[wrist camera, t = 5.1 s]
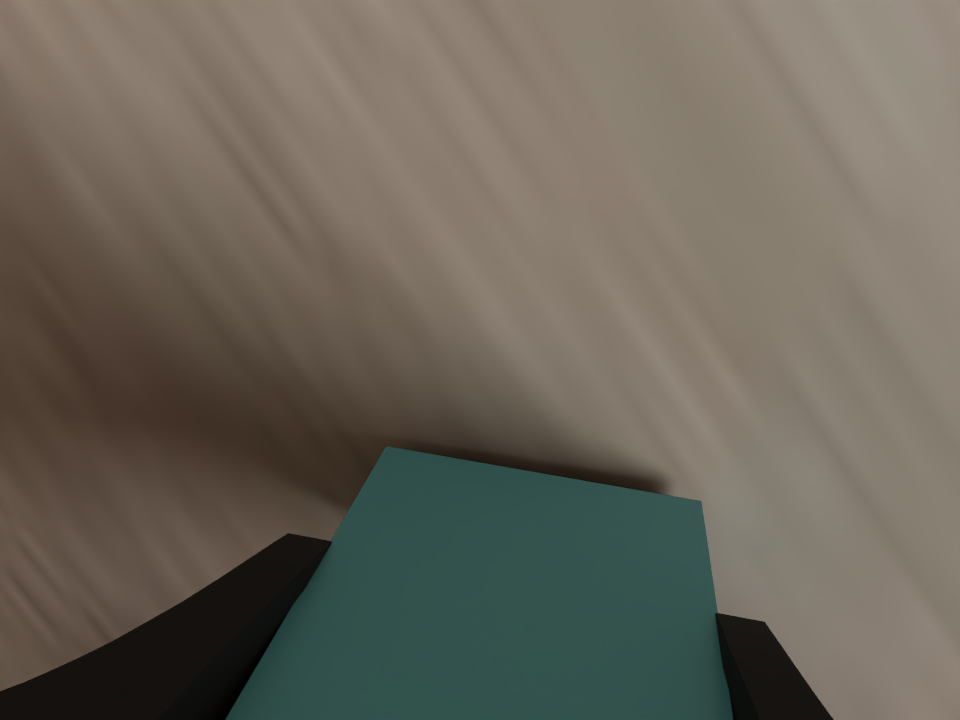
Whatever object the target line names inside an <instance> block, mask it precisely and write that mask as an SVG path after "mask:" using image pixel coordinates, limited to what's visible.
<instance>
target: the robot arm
mask: <svg viewBox="0 0 960 720" xmlns="http://www.w3.org/2000/svg"><path fill="white" fill-rule="evenodd" d="M331 544H332V541H327V540H321V539H316V538H311V537H305V536H300V535H294V534H289V533H288V534H287V535H285V536H283V537H282V538H280V539H278V540H277V541H275V542H274V543H272V544H271V545H269V546H268V547H266V548H265V549H263V550H262V551H260V552H259V553H257V554H256V555H254V556H252V557H251V558H249V559H248V560H246V561H245V562H243V563H242V564H240V565H239V566H237V567H236V568H234V569H233V570H231V571H230V572H228V573H227V574H225V575H224V576H222V577H221V578H219V579H218V580H216V581H214V582H213V583H211V584H210V585H208V586H207V587H205V588H203V589H202V590H200V591H199V592H197V593H195V594H194V595H192V596H191V597H189V598H188V599H186V600H184V601H183V602H181V603H180V604H178V605H176V606H174V607H172V608H171V609H169V610H167V611H165V612H164V613H162V614H160V615H158V616H157V617H155V618H153V619H151V620H150V621H148V622H146V623H144V624H142V625H141V626H139V627H137V628H135V629H134V630H132V631H130V632H128V633H127V634H125V635H123V636H121V637H119V638H118V639H116V640H114V641H112V642H110V643H108V644H106V645H104V646H102V647H100V648H98V649H96V650H94V651H92V652H90V653H88V654H86V655H84V656H82V657H80V658H78V659H76V660H73V661H71V662H69V663H67V664H65V665H62V666H60V667H58V668H56V669H54V670H51V671H49V672H47V673H45V674H42V675H40V676H38V677H36V678H33V679H31V680H28V681H26V682H24V683H21V684H18V685H16V686H13V687H11V688H8V689H5V690H3V691H0V720H225V719H226V718H227V716H228V714H229V713H230V711H231V709H232V708H233V706H234V704H235V703H236V701H237V699H238V697H239V696H240V694H241V692H242V691H243V689H244V687H245V686H246V684H247V682H248V680H249V679H250V677H251V675H252V674H253V672H254V670H255V669H256V667H257V665H258V663H259V662H260V660H261V658H262V657H263V655H264V653H265V652H266V650H267V648H268V646H269V645H270V643H271V641H272V640H273V638H274V636H275V635H276V633H277V631H278V629H279V628H280V626H281V624H282V623H283V621H284V619H285V618H286V616H287V614H288V612H289V611H290V609H291V607H292V606H293V604H294V603H295V601H296V600H297V599H298V597H299V596H300V595H301V593H302V592H303V591H304V589H305V588H306V587H307V585H308V583H309V582H310V580H311V578H312V576H313V575H314V573H315V571H316V570H317V568H318V566H319V564H320V563H321V561H322V559H323V558H324V556H325V554H326V552H327V551H328V549H329V547H330V546H331ZM715 617H716V624H717V631H718V638H719V645H720V652H721V659H722V666H723V670H724V674H725V678H726V681H727V685H728V689H729V694H730V700H731V707H732V714H733V720H833V718H832V717H831V716H830V714H829V713H828V711H827V710H826V709H825V707H824V706H823V705H822V703H821V702H820V700H819V699H818V698H817V696H816V695H815V693H814V692H813V691H812V689H811V688H810V686H809V685H808V684H807V682H806V681H805V679H804V678H803V676H802V675H801V674H800V672H799V671H798V669H797V668H796V666H795V665H794V663H793V662H792V661H791V659H790V658H789V656H788V655H787V653H786V652H785V650H784V649H783V648H782V646H781V645H780V643H779V642H778V640H777V639H776V638H775V636H774V635H773V633H772V632H771V630H770V629H769V628H768V626H767V625H766V623H765V622H762V621H757V620H752V619H746V618H741V617H736V616H730V615H725V614H719V613H716V614H715Z"/></svg>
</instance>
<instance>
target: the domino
mask: <svg viewBox="0 0 960 720" xmlns="http://www.w3.org/2000/svg"><path fill="white" fill-rule="evenodd" d="M331 541H332V544H331V546H330V547H329V549H328V551H327V552H326V554H325V556H324V558H323V559H322V561H321V563H320V564H319V566H318V568H317V570H316V571H315V573H314V575H313V576H312V578H311V580H310V582H309V583H308V585H307V587H306V588H305V589H304V591H303V592H302V593H301V595H300V596H299V597H298V599H297V600H296V601H295V603H294V604H293V606H292V607H291V609H290V611H289V612H288V614H287V616H286V618H285V619H284V621H283V623H282V624H281V626H280V628H279V629H278V631H277V633H276V635H275V636H274V638H273V640H272V641H271V643H270V645H269V646H268V648H267V650H266V652H265V653H264V655H263V657H262V658H261V660H260V662H259V663H258V665H257V667H256V669H255V670H254V672H253V674H252V675H251V677H250V679H249V680H248V682H247V684H246V686H245V687H244V689H243V691H242V692H241V694H240V696H239V697H238V699H237V701H236V703H235V704H234V706H233V708H232V709H231V711H230V713H229V714H228V716H227V718H226V719H225V720H733V714H732V707H731V700H730V694H729V689H728V685H727V681H726V678H725V674H724V670H723V666H722V659H721V652H720V645H719V638H718V631H717V624H716V617H715V614H716V613H718V612H717V605H716V598H715V591H714V585H713V578H712V571H711V564H710V557H709V551H708V544H707V537H706V530H705V523H704V516H703V510H702V503H701V501H697V500H692V499H686V498H680V497H674V496H669V495H663V494H657V493H652V492H646V491H640V490H634V489H629V488H623V487H617V486H611V485H606V484H600V483H594V482H589V481H583V480H577V479H571V478H566V477H560V476H554V475H548V474H543V473H537V472H531V471H526V470H520V469H514V468H508V467H503V466H497V465H491V464H485V463H480V462H474V461H468V460H463V459H457V458H451V457H445V456H440V455H434V454H428V453H422V452H417V451H411V450H405V449H400V448H394V447H388V446H386V448H385V449H384V451H383V453H382V454H381V456H380V458H379V460H378V461H377V463H376V465H375V466H374V468H373V470H372V471H371V473H370V475H369V477H368V478H367V480H366V482H365V483H364V485H363V487H362V488H361V490H360V492H359V494H358V495H357V497H356V499H355V500H354V502H353V504H352V505H351V507H350V509H349V511H348V512H347V514H346V516H345V517H344V519H343V521H342V522H341V524H340V526H339V527H338V529H337V531H336V533H335V534H334V536H333V538H332V539H331Z"/></svg>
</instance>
